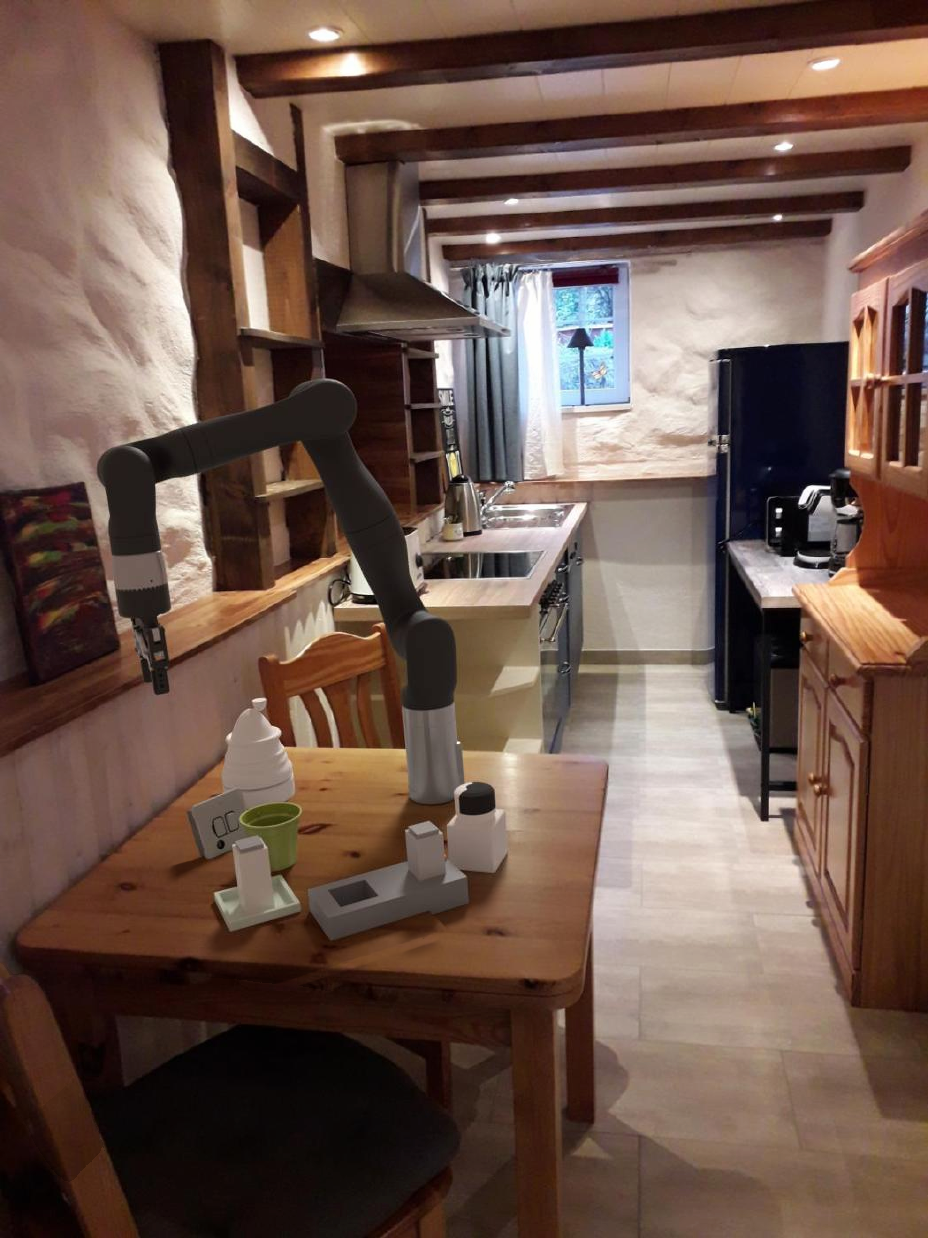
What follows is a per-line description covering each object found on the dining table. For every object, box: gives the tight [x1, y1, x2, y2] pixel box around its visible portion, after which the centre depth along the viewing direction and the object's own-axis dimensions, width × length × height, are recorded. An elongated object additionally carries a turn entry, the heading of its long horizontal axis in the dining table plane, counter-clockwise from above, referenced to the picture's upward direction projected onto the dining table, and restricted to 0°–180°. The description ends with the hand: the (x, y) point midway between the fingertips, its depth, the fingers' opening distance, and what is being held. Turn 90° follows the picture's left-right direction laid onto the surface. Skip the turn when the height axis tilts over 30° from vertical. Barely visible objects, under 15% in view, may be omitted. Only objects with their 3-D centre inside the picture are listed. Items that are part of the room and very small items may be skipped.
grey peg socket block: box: [307, 820, 470, 942], centre depth 130 cm, size 20×9×11 cm, turn 116°
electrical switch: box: [186, 788, 248, 860], centre depth 153 cm, size 9×5×9 cm, turn 141°
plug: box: [232, 835, 275, 916], centre depth 132 cm, size 4×4×10 cm
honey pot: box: [220, 697, 296, 809], centre depth 173 cm, size 13×13×18 cm
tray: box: [213, 874, 302, 933], centre depth 133 cm, size 10×10×2 cm
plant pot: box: [239, 801, 303, 872], centre depth 145 cm, size 9×9×9 cm
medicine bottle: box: [446, 781, 509, 874], centre depth 142 cm, size 7×7×12 cm
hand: (156, 687), depth 144 cm, fingers open, 8 cm apart
